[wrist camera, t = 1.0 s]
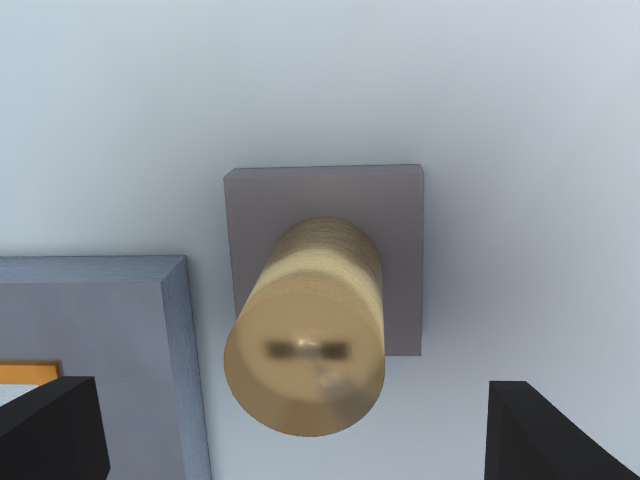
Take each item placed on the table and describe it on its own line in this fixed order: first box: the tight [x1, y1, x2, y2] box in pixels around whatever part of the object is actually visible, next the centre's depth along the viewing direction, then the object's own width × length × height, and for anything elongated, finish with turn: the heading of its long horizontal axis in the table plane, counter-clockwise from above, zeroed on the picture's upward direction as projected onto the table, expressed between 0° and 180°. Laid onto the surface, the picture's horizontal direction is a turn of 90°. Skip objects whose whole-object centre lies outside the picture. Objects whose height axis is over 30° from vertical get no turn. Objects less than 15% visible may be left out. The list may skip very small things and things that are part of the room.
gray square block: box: [224, 164, 424, 356], centre depth 19 cm, size 6×6×2 cm
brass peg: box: [224, 216, 385, 437], centre depth 15 cm, size 4×4×6 cm
